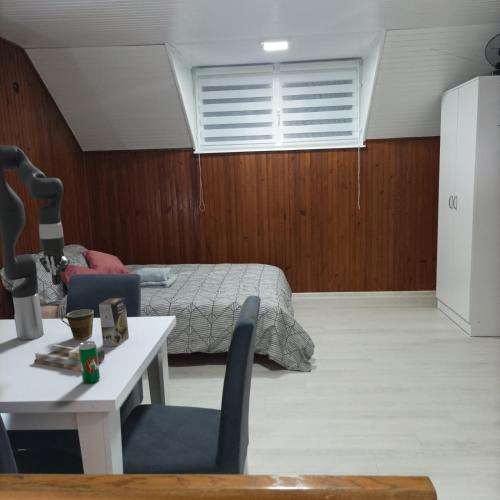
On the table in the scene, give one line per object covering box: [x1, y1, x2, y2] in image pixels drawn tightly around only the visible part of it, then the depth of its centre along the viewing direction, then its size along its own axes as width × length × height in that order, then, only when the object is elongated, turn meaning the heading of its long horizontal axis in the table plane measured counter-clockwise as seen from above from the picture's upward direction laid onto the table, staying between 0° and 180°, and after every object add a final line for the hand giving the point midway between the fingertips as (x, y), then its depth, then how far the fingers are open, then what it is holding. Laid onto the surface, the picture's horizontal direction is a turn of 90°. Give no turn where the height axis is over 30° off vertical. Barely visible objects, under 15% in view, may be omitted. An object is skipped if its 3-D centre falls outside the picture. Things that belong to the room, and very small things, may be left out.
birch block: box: [69, 346, 80, 360], centre depth 150 cm, size 6×6×4 cm
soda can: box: [78, 340, 101, 385], centre depth 136 cm, size 5×5×12 cm
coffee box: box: [98, 297, 130, 347], centre depth 169 cm, size 9×6×16 cm
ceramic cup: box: [60, 308, 95, 341], centre depth 176 cm, size 13×10×10 cm
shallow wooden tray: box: [34, 344, 106, 372], centre depth 153 cm, size 23×10×4 cm, turn 65°
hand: (57, 284), depth 159 cm, fingers closed
